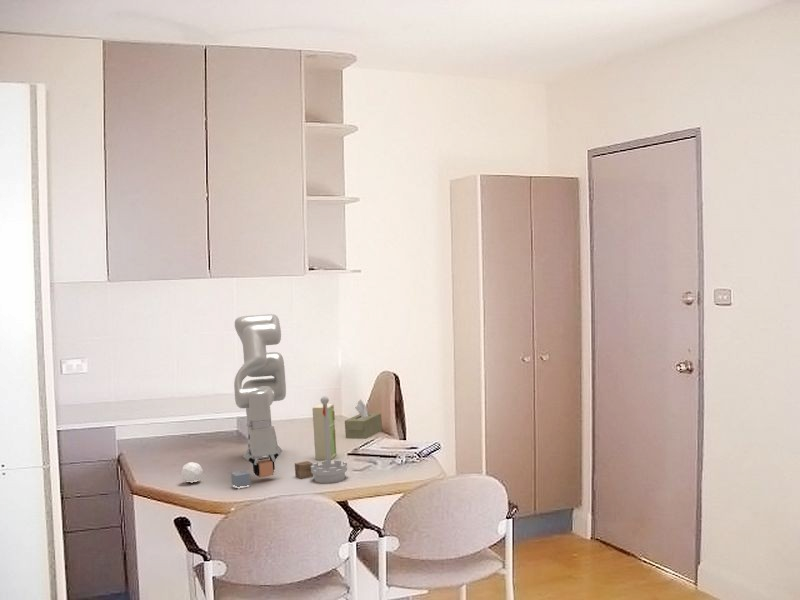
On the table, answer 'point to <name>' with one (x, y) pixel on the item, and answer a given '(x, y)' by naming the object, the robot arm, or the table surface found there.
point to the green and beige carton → (320, 432)
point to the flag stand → (328, 457)
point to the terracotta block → (265, 468)
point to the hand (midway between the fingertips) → (264, 473)
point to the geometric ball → (191, 471)
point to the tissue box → (363, 423)
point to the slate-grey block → (241, 478)
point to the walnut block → (303, 469)
